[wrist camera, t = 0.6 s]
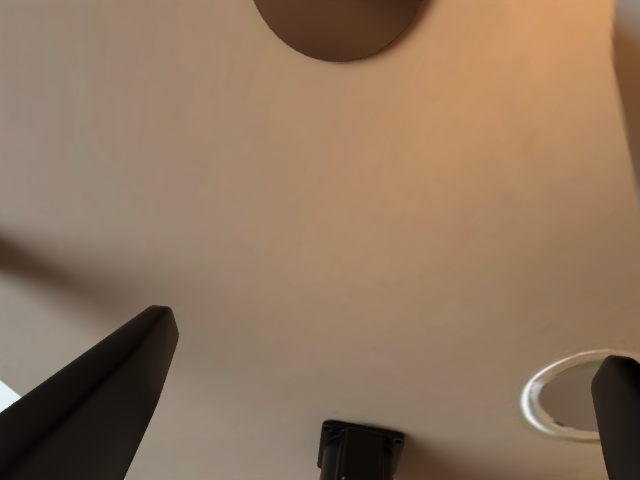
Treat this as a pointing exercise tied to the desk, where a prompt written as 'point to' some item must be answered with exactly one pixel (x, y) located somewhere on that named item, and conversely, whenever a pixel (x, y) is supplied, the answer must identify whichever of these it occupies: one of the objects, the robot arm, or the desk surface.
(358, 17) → the coaster
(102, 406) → the robot arm
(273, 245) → the desk surface
